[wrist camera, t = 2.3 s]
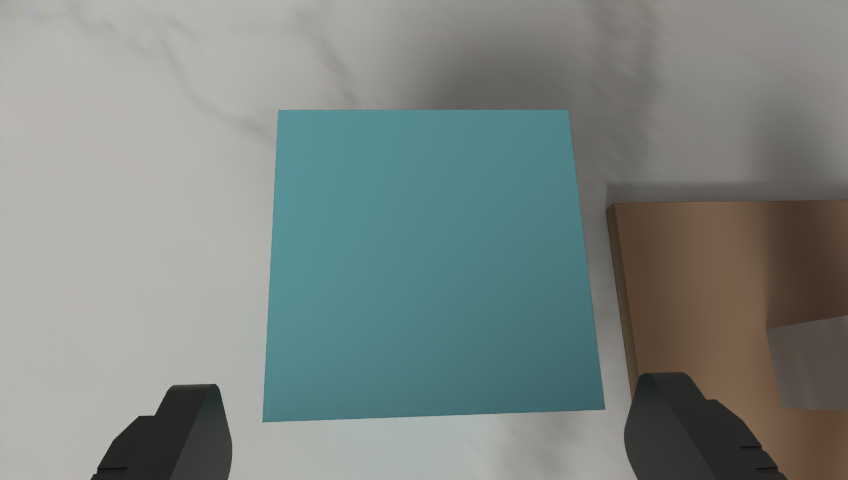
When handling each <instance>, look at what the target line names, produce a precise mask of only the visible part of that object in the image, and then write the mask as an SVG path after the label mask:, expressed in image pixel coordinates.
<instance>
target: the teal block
mask: <svg viewBox="0 0 848 480" xmlns="http://www.w3.org/2000/svg"><path fill="white" fill-rule="evenodd" d="M580 410H605V404H604V396H603V388H602V380H601V372H600V363H599V355H598V347H597V339H596V331H595V323H594V315H593V307H592V299H591V290H590V282H589V274H588V266H587V258H586V250H585V242H584V234H583V226H582V218H581V209H580V201H579V193H578V185H577V177H576V169H575V161H574V153H573V145H572V137H571V128H570V120H569V112H568V110H278V129H277V148H276V168H275V187H274V207H273V227H272V246H271V266H270V286H269V305H268V325H267V345H266V364H265V384H264V403H263V422H282V421H309V420H336V419H363V418H390V417H417V416H444V415H472V414H499V413H526V412H553V411H580Z"/></svg>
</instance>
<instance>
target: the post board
mask: <svg viewBox="0 0 848 480" xmlns="http://www.w3.org/2000/svg"><path fill="white" fill-rule="evenodd" d="M606 215H607V222H608V229H609V236H610V244H611V251H612V258H613V266H614V273H615V280H616V287H617V295H618V302H619V309H620V316H621V324H622V331H623V338H624V345H625V353H626V360H627V367H628V374H629V382H630V389H631V396H632V400H633V397H634V393H635V390H636V386H637V382H638V379H639V377H640V376H641V375H642V374H643V373H664V372H684V373H686V374H687V375H689V376H690V378H691V379H692V380H693V381H694V383H695V384H696V386H697V387H698V388H699V390H700V391H701V393H702V394H703V396H704V397H705V398H706V400H708V399H716V400H718V401H719V402H720V403H721V404H723V405H724V406H725V407H727V408H728V409H729V410H730V411H732V412H733V413H734V414H735V415H737V416H738V417H739V418H740V419H742V420H743V421H744V423H745V424H746V425H747V426H748V428H749V429H750V430H751V432H752V433H753V434H754V436H755V437H756V438H757V440H758V441H759V442H760V444H761V445H762V450H763V451H766V452H767V453H768V454H769V456H770V457H771V458H772V460H773V461H774V462H775V464H776V465H777V466H778V471H779V472H780V473H783V474H784V475H785V477H786V478H787V479H788V480H848V200H812V201H733V202H654V203H614V204H613V205H611V206H610V207H609V208H608V209H607V210H606Z"/></svg>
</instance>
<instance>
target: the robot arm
mask: <svg viewBox="0 0 848 480" xmlns="http://www.w3.org/2000/svg"><path fill="white" fill-rule="evenodd" d="M624 442H625V449H626V453H627V456H628V459H629V462H630V464H631V466H632V468H633V471H634V473H635V475H636V477H637V479H638V480H788V479H787V478H786V477H785V475H784V474H783V473H780V472H779V471H778V466H777V465H776V464H775V462H774V461H773V460H772V458H771V457H770V456H769V454H768V453H767V452H766V451H763V450H762V445H761V444H760V442H759V441H758V440H757V438H756V437H755V436H754V434H753V433H752V432H751V430H750V429H749V428H748V426H747V425H746V424H745V423H744V421H743V420H742V419H740V418H739V417H738V416H737V415H735V414H734V413H733V412H732V411H730V410H729V409H728V408H727V407H725V406H724V405H723V404H721V403H720V402H719V401H718V400H716V399H708V400H706V398H705V397H704V396H703V394H702V393H701V391H700V390H699V388H698V387H697V386H696V384H695V383H694V381H693V380H692V379H691V378H690V376H689V375H687V374H686V373H684V372H664V373H643V374H642V375H641V376H640V377H639V379H638V382H637V386H636V390H635V393H634V397H633V400H632V404H631V407H630V411H629V415H628V418H627V422H626V425H625V430H624ZM231 461H232V441H231V436H230V432H229V427H228V423H227V419H226V415H225V410H224V406H223V402H222V398H221V393H220V390H219V388H218V386H217V385H216V384H198V385H174V386H172V387H170V388H169V390H168V391H167V393H166V395H165V397H164V398H163V400H162V402H161V404H160V406H159V408H158V410H157V412H156V414H155V416H139V417H138V418H136V419H135V420H134V421H133V422H132V423H131V424H130V425H129V426H128V427H127V428H126V429H125V430H124V431H123V432H122V433H121V434H119V435H118V436H117V437H116V438H115V439H114V440H113V442H112V444H111V445H110V447H109V449H108V451H107V452H106V454H105V456H104V457H103V459H102V461H101V463H100V464H99V466H98V468H97V473H96V474H94V475H93V477H92V478H91V480H228V476H229V473H230V468H231Z"/></svg>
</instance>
